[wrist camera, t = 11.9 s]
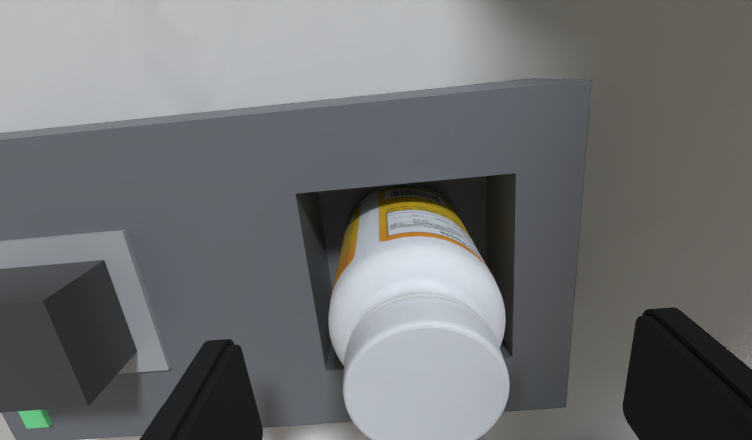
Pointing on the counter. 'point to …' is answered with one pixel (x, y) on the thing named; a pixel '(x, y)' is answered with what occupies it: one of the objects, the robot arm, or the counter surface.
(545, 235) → the control panel
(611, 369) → the counter surface
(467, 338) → the supplement bottle
